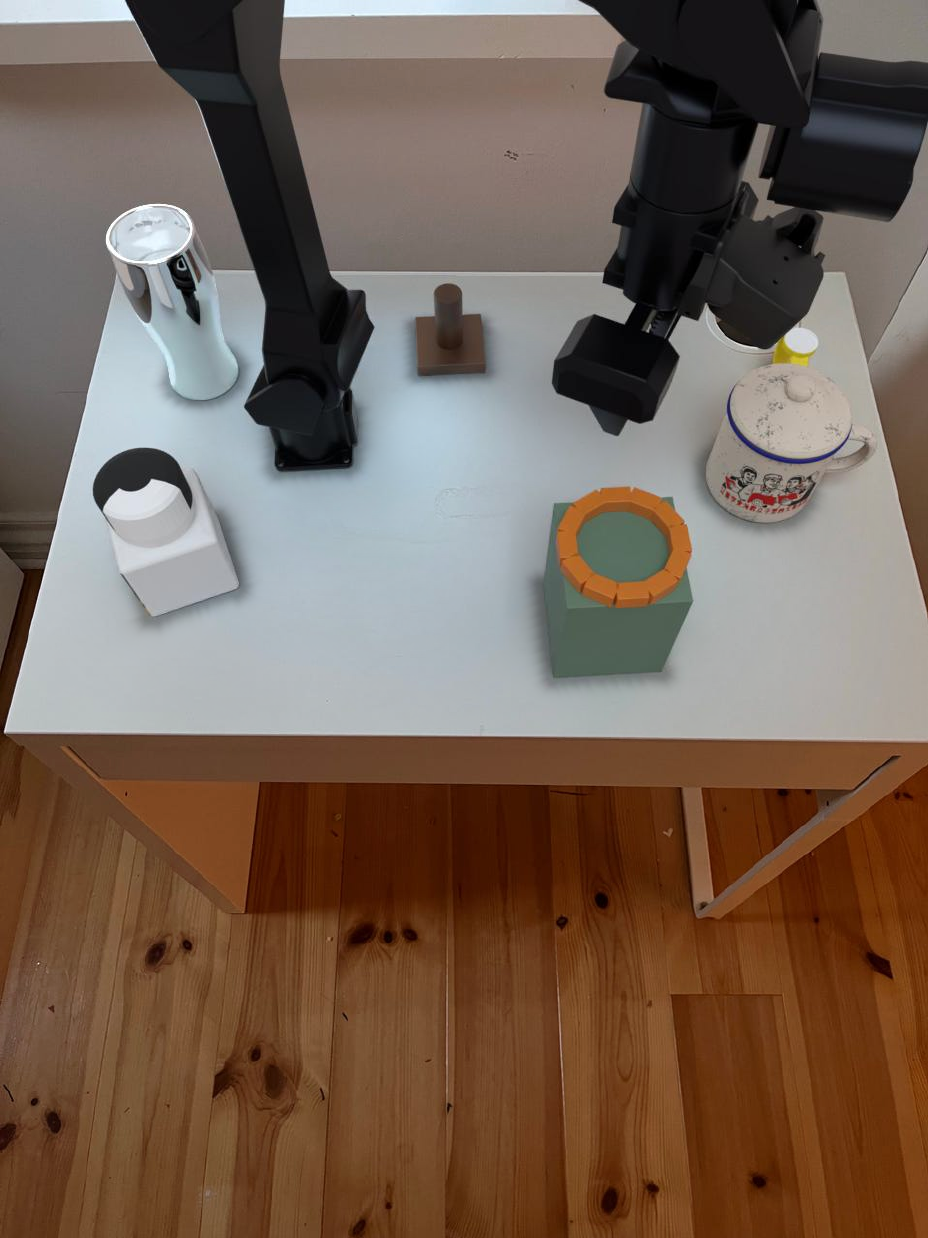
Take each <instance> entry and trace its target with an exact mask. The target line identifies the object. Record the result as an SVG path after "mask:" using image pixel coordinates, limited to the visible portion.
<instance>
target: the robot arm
mask: <svg viewBox="0 0 928 1238" xmlns="http://www.w3.org/2000/svg"><path fill="white" fill-rule="evenodd" d="M123 1H124V3H125V6H126V7H127V9H128V11H129V13H130V15H131V17H132V19H133V21H134V22H135V25H136V26H137V28H138V30H139V32H140V34H141V36H142V38H143V40H144V42H145V45H146V46H147V48H148V50H149V52H150V54H151V56H152V57H153V59H154V61H155V63H156V64H157V65H158V67H159V68H160V69H161V70H162V71H163V72H164V73H165V74H166V75H168V76H169V78H171V79H172V80H173V81H174V82H175V83H176V84H177V85H179V86H180V88H182V89H183V90H184V91H185V92H187V94H188V95H190V96H191V97H192V98H193V99H194V100H195V103H196V104H197V107H198V109H199V112H200V115H201V118H202V121H203V123H204V127H205V129H206V132H207V136H208V138H209V142H210V144H211V147H212V151H213V153H214V157H215V159H216V162H217V165H218V168H219V170H220V174H221V177H222V180H223V183H224V186H225V188H226V192H227V194H228V197H229V201H230V203H231V207H232V209H233V212H234V214H235V215H234V216H235V218H236V220H237V224H238V226H239V227H238V228H239V231H240V232H241V235H242V238H243V242H244V244H245V247H246V250H247V253H248V255H249V256H248V257H249V259H250V262H251V265H252V268H253V271H254V273H255V274H254V275H255V277H256V280H257V282H258V285H259V288H260V292H261V294H262V297H263V300H264V305H265V306H264V307H265V308H264V309H265V310H264V320H263V332H262V342H261V343H262V344H261V355H262V361H263V365H262V367H261V370H260V371H259V374H258V376H257V377H256V379H255V382H254V383H253V385H252V388H251V390H250V392H249V395H248V397H247V398H246V400H245V403H243V404H244V405H243V408H244V410H245V411H246V412H247V413H248V415H249V416H250V417H251V419H252V420H253V421H254V423H255V424H257V425H258V426H262V427H267V428H269V429H268V430H269V432H270V435H271V437H272V442H273V444H274V467H275V470H276V471H278V472H292V471H293V472H294V471H310V470H311V471H313V470H330V469H349V468H350V467H352V466H353V465H354V446H356V445H357V444H358V443H359V432H358V431H359V425H358V424H359V421H358V420H359V419H358V414H357V408H356V403H355V398H354V393H353V390H352V389H351V385H352V382H353V380H354V378H355V375H356V373H357V370H358V368H359V366H360V363H361V361H362V359H363V356H364V354H365V352H366V349H367V347H368V344H369V342H370V340H371V337H372V335H373V333H374V330H375V325H374V323H373V322H372V320H371V318H370V317H369V314H368V311H367V293H366V292H365V290H364V289H348V288H347V287H345V286H344V285H343V284H342V283H340V282H339V281H338V280H336V278H334V277H333V276H332V274H331V271H330V267H329V264H328V259H327V255H326V252H325V248H324V244H323V243H324V242H323V239H322V236H321V232H320V229H319V224H318V219H317V216H316V215H317V214H316V211H315V208H314V203H313V199H312V195H311V191H310V187H309V184H308V180H307V176H306V172H305V167H304V163H303V160H302V156H301V155H302V154H301V151H300V148H299V144H298V143H299V142H298V140H297V136H296V135H297V134H296V132H295V127H294V123H293V119H292V116H291V111H290V107H289V103H288V100H287V95H286V92H285V91H286V90H285V86H284V82H283V80H282V75H281V65H280V64H281V54H282V53H281V52H282V51H281V50H282V41H283V29H284V17H285V4H286V0H123ZM577 1H578V2H580V3H582V4H584V5H586V6H588V7H590V8H591V9H593V10H595V11H596V12H597V14H599V15H600V16H601V17H602V18H603V19H604V20H605V21H606V22H607V23H608V24H609V25H610V26H611V27H612V28H613V29H614V30H615V31H616V33H618V34H619V35H620V36H621V37H622V38H623V39H624V40H623V41H622V42H620V43H618V44H617V46H616V48H615V51H614V53H613V54H614V55H613V57H612V61H611V63H610V67H609V70H608V72H607V76H606V79H605V83H604V86H603V93H604V95H605V97H606V98H608V99H611V100H619V101H625V102H632V103H637V104H638V103H639V104H641V110H640V115H639V122H638V128H637V133H636V140H635V146H634V149H633V157H632V163H631V167H630V172H629V178H628V184H627V185H626V187H625V189H624V190H623V192H622V194H621V195H620V197H619V198H618V200H617V202H616V203H615V205H614V208H613V214H612V220H611V224H614V225H617V226H620V231H619V237H618V241H617V242H618V243H617V247H616V248H615V250H614V252H613V253H612V255H611V257H610V259H609V261H608V262H607V264H606V265H605V267H604V269H603V274H602V275H603V276H602V282H601V284H604V285H607V286H610V287H613V288H616V289H619V290H622V295H623V296H624V297H625V298H626V299H628V300H629V301H630V302H632V303H634V304H635V305H634V306H633V308H632V309H631V311H630V313H629V315H628V317H627V319H626V321H625V323H622V322H620V321H616V320H613V319H610V318H607V317H605V316H602V315H599V314H597V313H593V314H590V315H588V316H586V317H583V318H581V319H579V320H577V321H576V323H575V324H574V326H573V327H572V329H571V330H570V332H569V335H568V336H567V338H566V340H565V341H564V343H563V345H562V346H561V348H560V350H559V352H558V354H556V357H555V358H554V360H553V367H552V374H551V375H552V376H551V385H552V387H553V389H554V392H555V393H556V395H559V396H562V397H564V398H567V399H570V400H573V401H576V402H578V403H581V404H584V405H586V406H588V407H589V409H590V411H591V413H592V414H593V416H594V418H595V420H596V421H597V423H598V425H599V427H600V428H601V430H602V432H604V433H606V434H609V435H612V436H614V437H619V436H620V434H621V433H622V431H623V429H624V428H625V426H626V424H627V423H628V421H630V422H633V423H636V424H638V425H642V424H645V423H649V422H651V421H654V419H655V417H656V415H657V414H658V411H659V409H660V407H661V405H662V403H663V402H664V399H665V397H666V396H667V393H668V391H669V389H670V386H671V385H672V382H673V379H674V376H675V374H676V371H677V369H678V366H679V361H680V358H681V355H680V354H679V352H677V350H676V348H675V347H674V346H673V344H672V342H670V338H671V336H672V334H673V332H674V331H675V329H676V327H677V325H678V323H679V321H680V319H681V317H684V318H687V319H690V320H692V321H696V322H699V321H700V318H701V317H702V315H703V313H704V310H705V307H706V305H707V308H708V310H709V311H710V312H711V313H712V315H714V316H715V317H716V318H718V319H719V320H721V321H722V322H724V323H725V324H726V325H728V326H730V327H731V328H732V329H734V330H736V331H737V332H738V333H739V334H741V335H743V336H744V337H746V338H747V340H748V343H749V344H751V345H752V346H754V347H755V348H757V349H760V350H764V351H765V350H770V349H772V348H773V347H774V346H775V345H777V343H778V341H779V340H780V339H781V338H782V337H783V336H785V335H786V334H787V333H788V332H789V331H790V330H791V329H794V328H795V326H796V325H797V324H799V323H800V322H801V321H802V320H803V319H805V317H806V316H808V314H809V312H810V309H811V307H812V305H813V302H814V300H815V298H816V296H817V294H818V291H819V289H820V286H821V285H822V282H823V279H824V276H825V273H824V272H825V271H824V268H823V266H822V264H823V262H824V260H825V257H826V255H825V253H823V252H822V251H819V252H818V253H816V254H815V249H816V246H817V244H818V241H819V238H820V234H821V230H822V227H823V223H824V219H825V218H824V216H823V214H821V213H819V212H822V213H828V214H835V215H841V216H846V217H853V218H860V219H865V220H871V221H878V222H883V223H889V222H891V221H892V220H894V218H895V217H896V215H897V214H898V213H899V211H900V210H901V208H902V206H903V204H904V202H905V201H906V198H907V196H908V195H909V192H910V190H911V188H912V186H913V181H914V173H915V172H914V171H915V166H916V163H917V161H918V157H919V154H920V152H921V149H922V145H923V142H924V139H925V135H926V132H927V127H928V62H926V61H919V60H903V61H886V60H880V59H879V60H878V59H871V58H866V57H857V56H850V55H843V54H836V53H829V52H822V51H821V52H820V47H821V41H822V33H823V28H824V27H823V26H824V17H823V14H822V11H821V8H820V6H819V3H818V0H577ZM759 124H761V125H766V126H769V129H768V133H767V135H766V140H765V144H764V148H763V151H762V156H761V160H760V165H759V170H758V175H757V176H758V179H762V180H768V181H769V180H770V179H771V181H770V184H769V188H768V191H767V196H766V201H771V202H774V204H775V205H781V206H784V207H785V206H786V207H792V208H788V209H786V210H784V211H782V212H779V213H777V214H775V215H774V216H771V215H769V214H767V215H766V216H765V217H764V218H763V219H761V220H760V219H758V220H755V219H754V216H755V213H756V210H757V206H758V204H759V201H760V199H759V198H758V195H757V194H756V192H755V191H754V189H753V187H752V186H751V184H750V182H747V181H745V180H743V178H744V174H745V172H746V171H745V170H746V168H747V165H748V161H749V158H750V155H751V150H752V147H753V144H754V141H755V138H756V134H757V130H758V129H759V128H758V127H759ZM649 327H650V328H649Z"/></svg>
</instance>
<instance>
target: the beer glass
mask: <svg viewBox="0 0 928 1238" xmlns="http://www.w3.org/2000/svg"><path fill="white" fill-rule="evenodd" d="M105 242H106V243H105V244H106V247H107V249H108V251H109V254H110V256H111V261H112V264H113V266H114V269H115V272H116V275H117V277H118V280H119V283H120V285H121V288H122V290H123V293H124V294H125V297H126V299H127V301H128V303H129V305H130V307H131V308H132V310H133V312H134V314H135V315H136V316H137V318H138V319H139V321H140V322H141V324H142V325H143V327H144V328H145V330H146V331H147V333H148V334H149V335H150V337H151V338H152V339H153V341H154V342H155V343H156V345H157V347H158V348H159V350H160V351H161V353H162V355H163V357H164V360H165V362H166V365H167V370H168V377H169V382H170V385H171V387H172V389H173V390H174V391H175V392H176V393H177V394H178V395H179V396H181V397H183V398H185V399H187V400H192V401H206V400H207V401H208V400H212V399H215V398H218V397H220V396H222V395H224V394H225V393H227V392H228V391H229V390H230V389H231V388H233V386H234V385H235V384H236V382H237V380H238V376H239V364H238V362H237V359H236V357H235V356H234V354H233V352H232V350H231V349H230V348H229V346H228V344H227V342H226V340H225V338H224V334H223V329H222V328H223V327H222V322H221V313H220V312H221V311H220V303H219V295H218V290H217V285H216V284H217V283H216V279H215V275H214V273H213V269H212V266H211V264H210V260H209V257H208V255H207V252H206V249H205V248H204V244H203V242H202V240H201V238H200V236H199V234H198V231H197V229H196V226H195V223H194V221H193V219H192V217H191V216H190V215H189V214H188V213H187V212H185V210H183V209H181V208H179V207H176V206H175V205H171V204H170V205H169V204H161V203H155V204H154V203H153V204H146V205H145V204H144V205H142V206H141V205H140V206H138V207H135V208H132V209H130V210H128V211H126V212H124V213H122V214H121V215H119V217H117V218H116V219H115V220H114V221H113V222H112V223H111V224H110V227H109V228H108V230H107V232H106V237H105Z"/></svg>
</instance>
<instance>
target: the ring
mask: <svg viewBox="0 0 928 1238" xmlns="http://www.w3.org/2000/svg"><path fill="white" fill-rule="evenodd" d="M661 501H662V498H661V496H659V495H656V494H654V493H651V492H649V491H646V490H643V489H641V488H638V487H636V486H635V487H634V486H633V488H632V489H631V486H613V487H600V488H599V490H598V489H594V490H593V491H591V492H589V493H588V494H586V495H584V496H582V497H580V498H579V499H577V500H576V501H573V502H574V503H573V505H572V506H569V508H568V510H567V512H566V514H565V515H564V517H563V519H562V521H561V523H560V525H559V527H558V530H557V536H556V548H557V557H558V565H559V567H561V572H562V573H563V574H564V576H565V577H566V578H567V579H568V580H569V582H570V583H571V584H572V585H573V586H574V588H575V589H576V590H577V591H578V593H579V592H581V591H583V593H582V595H583V596H585V597H587V598H590V599H592V600H594V601H597V602H599V603H602V604H604V605H606V606H609V607H612V605H613V603H614V604H615V608H627V607H645V606H647V603H649V604H650V605H652V604H653V603H655V602H656V601H658V600H660V599H661V598H663V597H664V596H666V595H668V594H669V593H671V592H672V591H674V590H675V588H676V587H677V586H678V585H679V583H680V580H681V578H682V576H683V574H684V572H685V569H686V567H687V568H688V565H689V562H690V560H691V557H692V552H693V547H692V542H691V536H690V532H689V527H688V524H687V523H685V522H686V521H685V520H684V519H683V517H682V516H681V515H680V514H679V513H678V512H677V511H676V509H675V510H674V509H673V508H672V507H671V506H670V505H669V503H668V502H667V501H664V502H662V503H661ZM618 511H629V512H631V513H634V514H636V515H639V516H641V517H644V518H646V519H649V520H651V521H652V522H653V523H654V524H655V526H656V527H657V528H658V529H659V530H660V531H661V532H662V533H663V534H664V535H665V537H666V541H667V547H668V552H669V559H668V561H667V563H666V566H665V568H664V569H663V570H661V571H660V572H658V573H657V574H655V575H653V576H652V577H650V578H648V579H647V580H645V581H640V582H622V583H618V582H615V581H613V580H610V579H608V578H605V577H603V576H601V575H598V574H596V573H594V572H593V571H592V570H591V569H590V567H589V566H588V565H587V564H586V563H585V561H584V560H583V559H582V558H581V557H580V555H579V553H578V546H577V536H578V534H579V532H580V530H581V528H582V526H583V524H584V523H585V522H587V521H589V520H591V519H592V518H594V517H596V516H598V515H599V514H601V513H603V512H618Z"/></svg>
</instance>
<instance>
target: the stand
mask: <svg viewBox="0 0 928 1238" xmlns="http://www.w3.org/2000/svg"><path fill="white" fill-rule="evenodd" d="M433 304H434V305H433V309H434V315H431V316H430V315H427V316H415V318H414V323H415V325H414V327H415V346H416V347H415V349H416V369H417V376H418V377H422V376H425V377H426V376H441V375H442V376H443V375H445V376H446V375H462V374H481V373H482V374H483V373H485V372H486V355H485V342H484V333H483V331H484V330H483V323H482V322H483V321H482V314H481V313H469V314H466V313H465V314H464V313H463V311H464V310H463V291H462V289H461V287H460V286H458V285H457V284H456V283H451V282H450V283H449V282H446V283H442V284H440V285H438V286H437V287H435V289H434V291H433Z"/></svg>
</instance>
